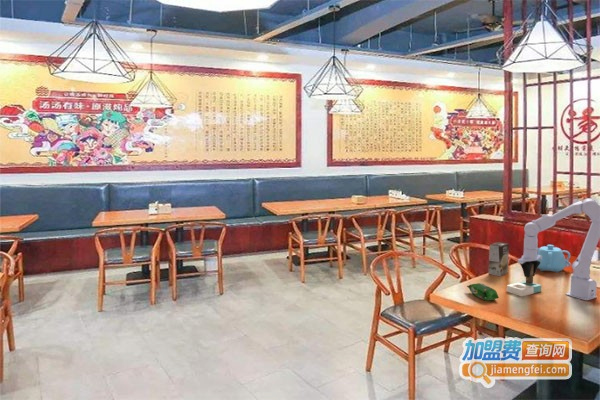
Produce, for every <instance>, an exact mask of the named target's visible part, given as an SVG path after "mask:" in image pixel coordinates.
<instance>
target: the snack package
mask: <svg viewBox="0 0 600 400" xmlns="http://www.w3.org/2000/svg"><path fill="white" fill-rule="evenodd" d="M466 287H467V288H468V289H469V290H470V292H471V293H472V295H474V296H475V297H477V298H479V299H481V300H483V301H494V300H496V299H499V294H498V291H496V289H494V288H492V287H490V286H488V285H487V284H484V283H482V282H481V283H472V284H471V283H470V284H469V285H466Z"/></svg>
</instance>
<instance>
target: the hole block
mask: <svg viewBox="0 0 600 400" xmlns="http://www.w3.org/2000/svg"><path fill="white" fill-rule="evenodd" d="M540 292H542V284H539V283H535V282H533V284H528V283H526V280H524V281H523V280H522V281H519V282H515V283H511V284H507V285H506V293H511V294H514V295H516V296H520V297H524V296H529V295H532V294H536V293H540Z"/></svg>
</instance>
